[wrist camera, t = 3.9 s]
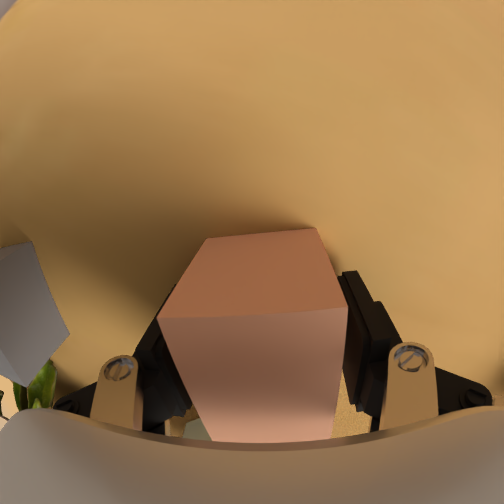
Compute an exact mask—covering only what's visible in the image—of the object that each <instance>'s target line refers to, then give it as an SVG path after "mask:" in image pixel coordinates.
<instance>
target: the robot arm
mask: <svg viewBox="0 0 504 504" xmlns="http://www.w3.org/2000/svg"><path fill="white" fill-rule="evenodd" d="M337 279H338V282H339V284H340V287H341V290H342V292H343V295H344V297H345V300H346V303H347V305H348V315H347V328H346V338H345V348H344V357H343V365H342V369H343V374H344V378H345V383H346V387H347V392H348V397H349V402H350V404H351V405H352V404H355V406H356V411H357V412H361V411H364V413H366V414H368V415H370V421H369V427H368V433H365V434H359V435H353V436H347V437H340V438H332V439H324V440H313V441H301V442H282V443H237V442H219V441H206V440H196V439H188V438H180V437H173V436H171V434H170V420H169V418H171V417H172V416H180V417H184V415H185V412H186V409H190V408H191V405H192V400H191V398H190V396H189V394H188V392H187V390H186V388H185V386H184V383H183V381H182V379H181V377H180V374H179V372H178V370H177V368H176V365H175V363H174V361H173V358H172V356H171V353H170V351H169V349H168V346H167V344H166V341H165V339H164V336H163V333H162V331H161V328H160V326H159V323H158V320H157V316H158V315H159V313H160V311H161V310H162V308H163V306H164V305H165V303H166V301H167V300H168V298H169V296H170V295H171V293H172V292H173V290H174V288H175V287H176V285H177V284H175V285H174V287H173V288H172V290H171V292H170V293H169V295H168V296H167V298H166V300H165V301H164V303H163V304H162V306H161V308H160V309H159V311H158V312H157V314H156V316H155V317H154V319H153V321H152V322H151V324H150V325H149V327H148V329H147V330H146V332H145V334H144V335H143V337H142V339H141V340H140V342H139V344H138V345H137V347H136V349H135V352H134V354H133V356H129V355H120V356H116V357H114V358H111V359H110V360H108V361H107V362H106V363H105V364H104V365H103V366H102V368H101V370H100V373H99V377H98V381H97V382H95V383H93V384H91V385H89V386H86V387H84V388H82V389H80V390H78V391H75V392H73V393H71V394H68V395H66V396H64V397H62V398H60V399H59V400H58V401H57V402H56V403H55V405H54V406H53V409H52V408H51V407H49V408H46V409H45V408H36V409H26V410H22V411H19V412H17V413H16V414H14V415H13V416H12V417H11V418H10V419H9V421H8V422H7V423H6V424H5V425H4V427H3V428H2V430H1V431H0V504H504V396H501V395H497V394H496V395H495V397H492V395H491V393H490V392H489V390H488V389H487V388H486V387H485V386H483V385H481V384H480V383H477V382H474V381H471V380H469V379H466V378H463V377H461V376H458V375H455V374H453V373H450V372H447V371H445V370H442V369H440V368H437V367H435V366H434V358H433V355H432V353H431V352H430V350H429V349H428V348H426V347H425V346H424V345H421V344H419V343H415V342H404V343H403V342H402V340H401V338H400V336H399V334H398V332H397V330H396V328H395V326H394V324H393V322H392V321H391V319H390V317H389V315H388V313H387V311H386V309H385V308H384V306H383V304H382V303H381V302H380V301H376V302H374V301H373V299H372V297H371V295H370V293H369V292H368V290H367V288H366V286H365V284H364V282H363V281H362V279H361V277H360V275H359V273H358V272H357V271H347V272H342V276H338V277H337Z"/></svg>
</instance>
